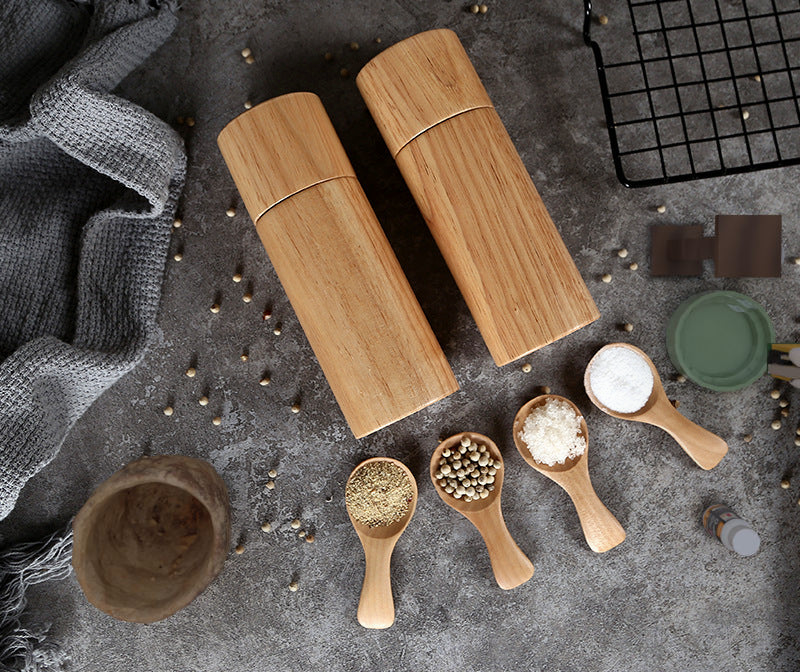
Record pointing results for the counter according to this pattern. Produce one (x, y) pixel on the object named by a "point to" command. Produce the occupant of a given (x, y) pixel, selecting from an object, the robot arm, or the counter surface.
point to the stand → (720, 247)
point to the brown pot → (152, 537)
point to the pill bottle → (731, 530)
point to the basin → (720, 340)
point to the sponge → (785, 348)
